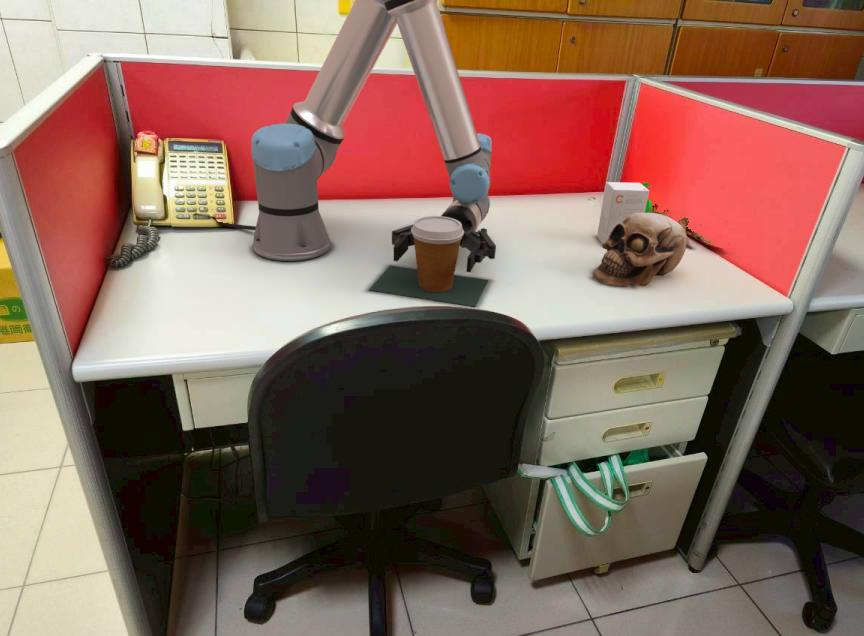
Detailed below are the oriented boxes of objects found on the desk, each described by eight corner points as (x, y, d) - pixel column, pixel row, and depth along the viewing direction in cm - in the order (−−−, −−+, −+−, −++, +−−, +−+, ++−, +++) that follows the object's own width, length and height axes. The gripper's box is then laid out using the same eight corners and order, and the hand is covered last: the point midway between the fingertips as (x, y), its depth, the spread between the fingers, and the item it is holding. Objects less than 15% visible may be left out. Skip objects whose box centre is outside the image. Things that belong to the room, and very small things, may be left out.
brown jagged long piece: (656, 230, 154) (700, 256, 140) (660, 211, 152) (705, 236, 137) (689, 227, 157) (735, 252, 142) (693, 209, 154) (741, 232, 140)
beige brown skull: (588, 279, 124) (604, 213, 118) (606, 260, 139) (621, 199, 133) (667, 300, 119) (688, 232, 114) (677, 277, 134) (696, 216, 128)
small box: (629, 237, 148) (640, 182, 141) (638, 247, 142) (650, 190, 135) (595, 236, 147) (605, 181, 140) (603, 246, 141) (614, 189, 135)
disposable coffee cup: (454, 299, 113) (458, 235, 107) (404, 292, 115) (404, 229, 108) (465, 278, 121) (469, 218, 115) (417, 272, 123) (418, 212, 116)
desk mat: (368, 290, 115) (368, 289, 115) (390, 266, 125) (390, 265, 125) (475, 307, 112) (475, 306, 111) (488, 280, 122) (488, 279, 121)
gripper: (516, 248, 130) (498, 289, 112) (401, 231, 134) (366, 269, 116) (520, 212, 126) (502, 249, 108) (402, 197, 130) (365, 230, 112)
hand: (431, 259), depth 112 cm, fingers open, 13 cm apart
